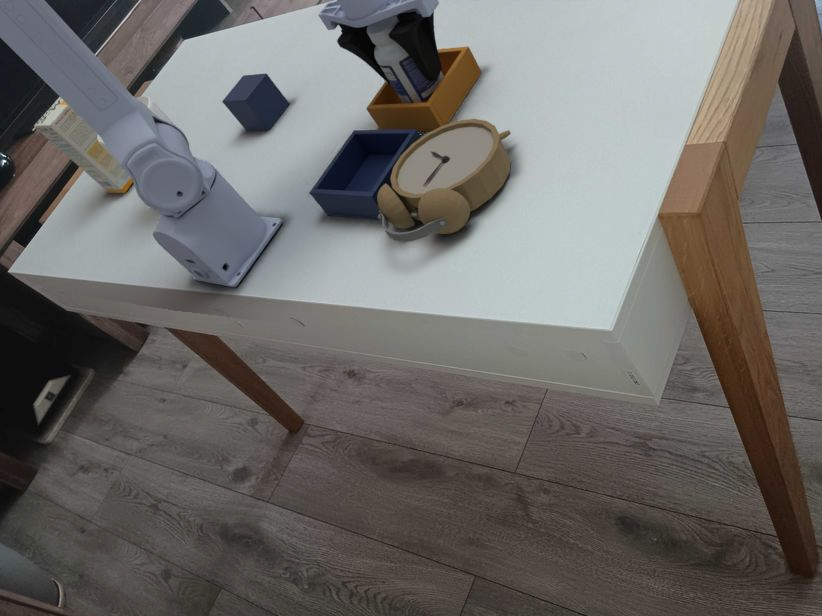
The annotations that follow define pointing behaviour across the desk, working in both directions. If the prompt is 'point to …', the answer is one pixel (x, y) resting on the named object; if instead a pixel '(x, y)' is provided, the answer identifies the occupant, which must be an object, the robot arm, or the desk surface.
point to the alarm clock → (444, 179)
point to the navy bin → (361, 172)
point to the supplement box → (83, 146)
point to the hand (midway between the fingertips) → (415, 76)
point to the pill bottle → (400, 65)
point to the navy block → (256, 102)
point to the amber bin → (441, 104)
